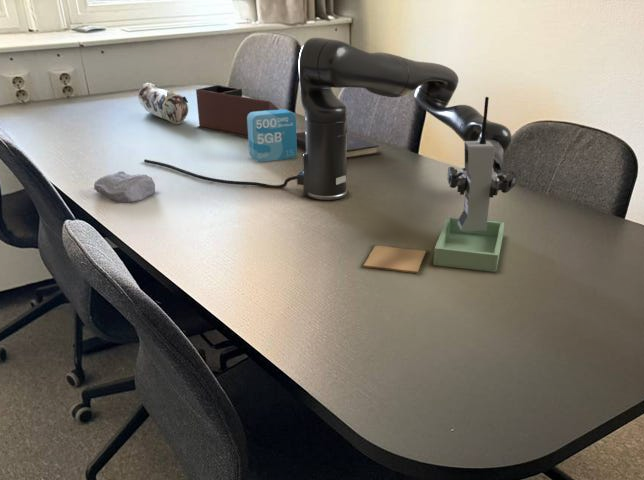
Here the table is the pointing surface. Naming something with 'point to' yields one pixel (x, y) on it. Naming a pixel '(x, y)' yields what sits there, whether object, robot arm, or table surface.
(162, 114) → the pencil case
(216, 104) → the desk organizer
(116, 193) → the stone block
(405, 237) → the table surface
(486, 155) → the vintage mobile phone
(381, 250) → the cork pad
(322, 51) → the robot arm
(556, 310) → the table surface
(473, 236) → the tray
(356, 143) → the hardcover book
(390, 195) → the table surface
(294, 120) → the data package
